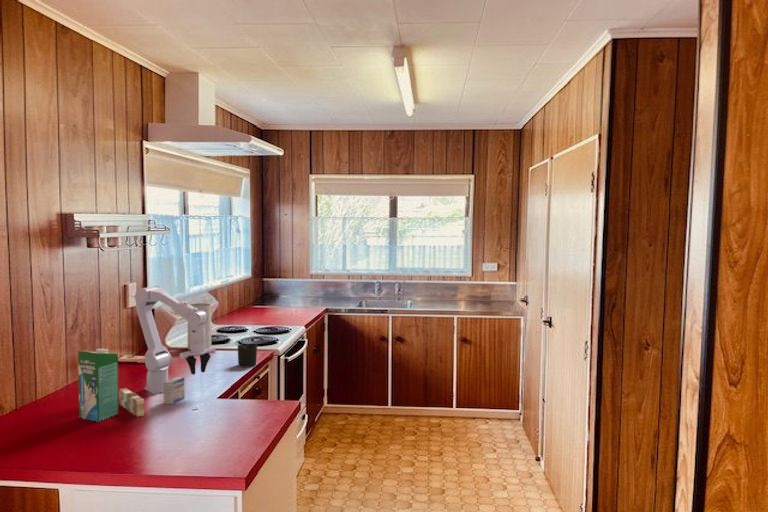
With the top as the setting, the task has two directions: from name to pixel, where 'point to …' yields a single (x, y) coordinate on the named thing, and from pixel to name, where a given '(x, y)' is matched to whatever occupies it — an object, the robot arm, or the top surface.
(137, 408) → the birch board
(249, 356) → the pen holder
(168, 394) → the medicine box
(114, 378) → the milk carton
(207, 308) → the cylinder vase
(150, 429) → the top surface
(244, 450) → the top surface
